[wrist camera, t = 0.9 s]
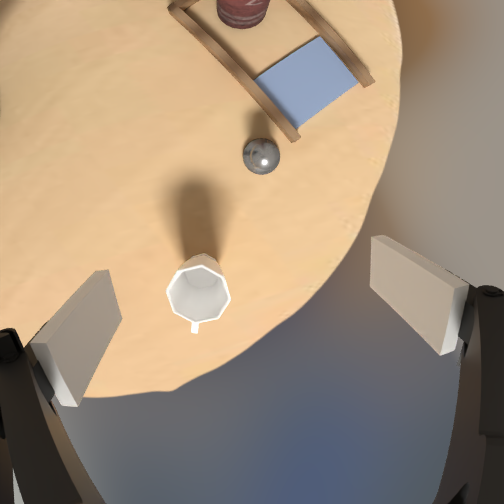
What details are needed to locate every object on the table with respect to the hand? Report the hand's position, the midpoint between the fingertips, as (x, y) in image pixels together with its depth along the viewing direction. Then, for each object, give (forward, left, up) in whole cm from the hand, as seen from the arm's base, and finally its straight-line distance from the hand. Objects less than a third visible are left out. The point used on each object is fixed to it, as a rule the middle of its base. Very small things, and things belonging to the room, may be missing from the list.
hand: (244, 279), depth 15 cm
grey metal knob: (-2, +7, -24) cm, 25 cm away
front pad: (-6, +18, -24) cm, 31 cm away
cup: (+5, -9, -25) cm, 27 cm away
